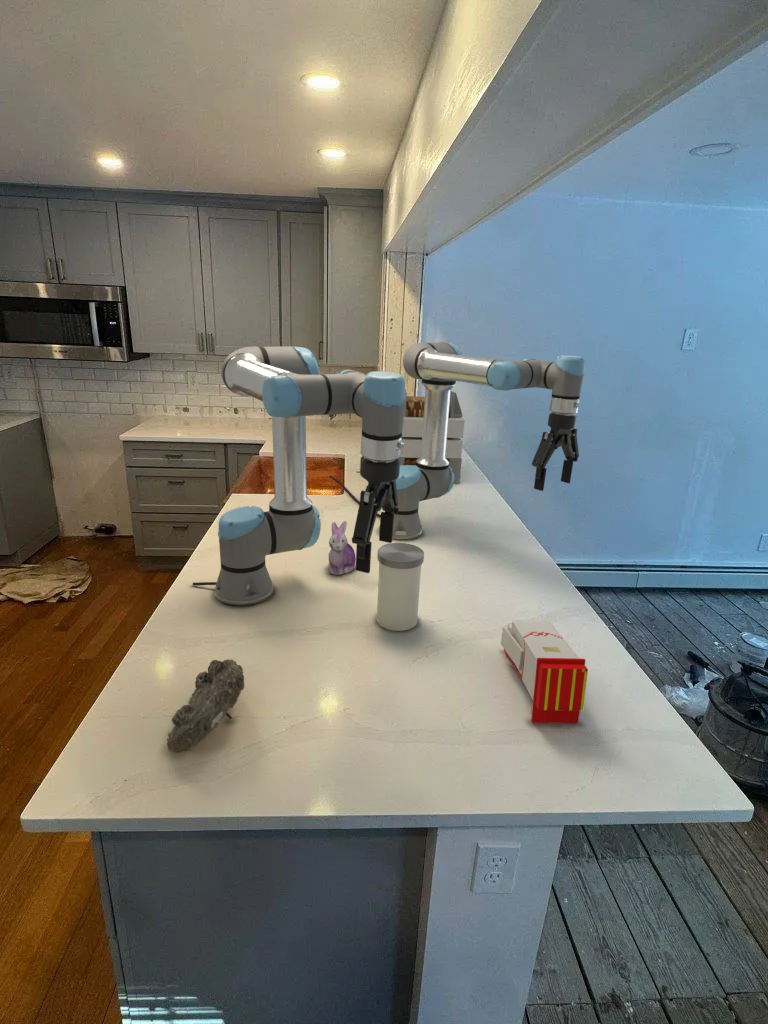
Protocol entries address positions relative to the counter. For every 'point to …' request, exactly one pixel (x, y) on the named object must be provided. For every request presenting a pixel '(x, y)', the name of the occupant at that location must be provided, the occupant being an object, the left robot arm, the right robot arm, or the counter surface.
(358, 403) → the left robot arm
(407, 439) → the white slatted crate
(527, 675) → the toy
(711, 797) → the counter surface
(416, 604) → the jar
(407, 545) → the lid
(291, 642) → the counter surface
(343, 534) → the figurine
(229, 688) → the fossil
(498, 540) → the counter surface
